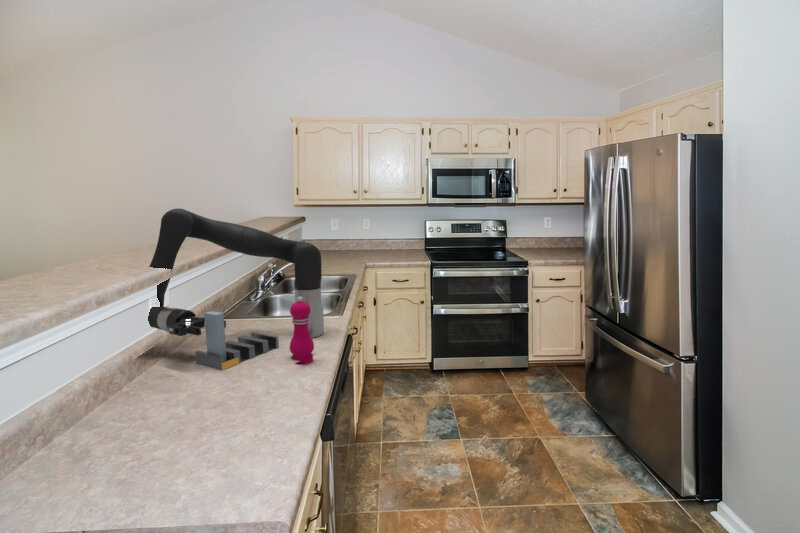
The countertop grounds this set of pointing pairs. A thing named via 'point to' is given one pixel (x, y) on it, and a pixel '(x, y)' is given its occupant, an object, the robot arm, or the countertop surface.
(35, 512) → the countertop surface
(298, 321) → the pepper mill
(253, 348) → the rack
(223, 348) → the panel
